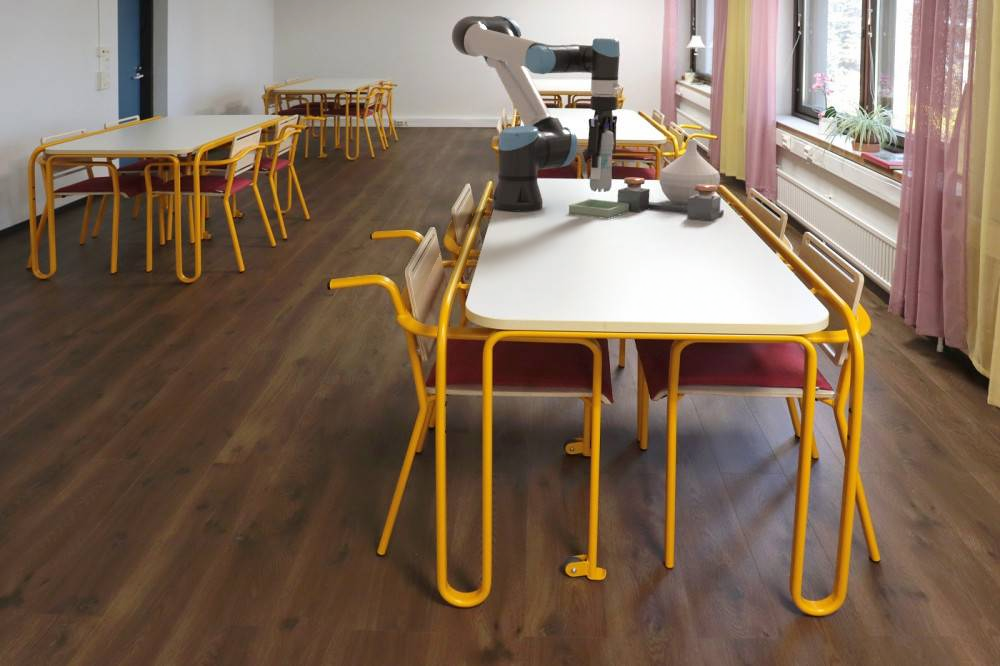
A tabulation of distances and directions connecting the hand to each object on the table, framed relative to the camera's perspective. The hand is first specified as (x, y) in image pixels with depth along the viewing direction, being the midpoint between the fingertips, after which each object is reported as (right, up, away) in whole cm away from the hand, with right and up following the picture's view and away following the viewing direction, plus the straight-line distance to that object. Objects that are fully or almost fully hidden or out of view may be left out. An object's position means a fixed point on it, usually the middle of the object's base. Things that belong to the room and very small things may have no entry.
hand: (600, 177), depth 281 cm
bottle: (0, -4, +1) cm, 4 cm away
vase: (+29, -5, +21) cm, 36 cm away
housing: (+21, -10, +5) cm, 23 cm away
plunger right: (+29, -11, -3) cm, 31 cm away
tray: (0, -10, +3) cm, 10 cm away
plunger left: (+10, -7, +8) cm, 15 cm away
